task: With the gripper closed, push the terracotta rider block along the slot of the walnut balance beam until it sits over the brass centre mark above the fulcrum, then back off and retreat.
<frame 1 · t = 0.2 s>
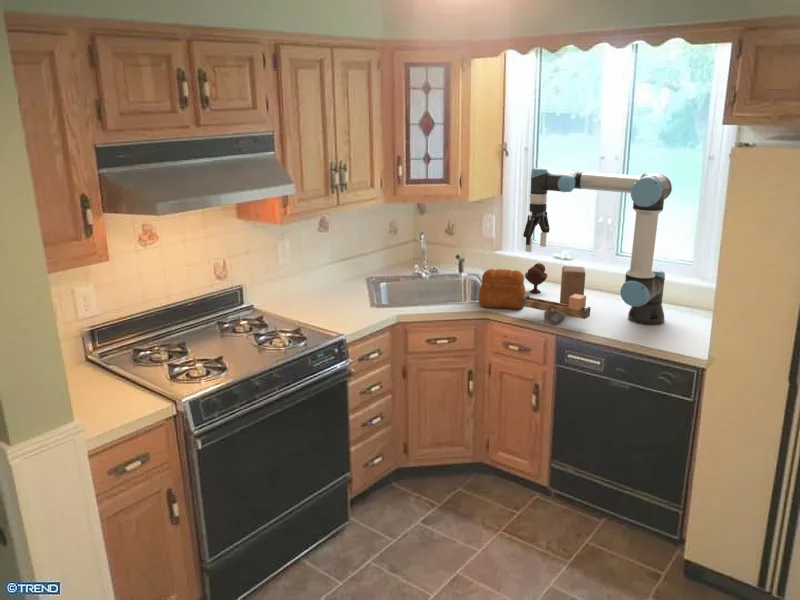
hand: (535, 249, 313), 28 cm above the worktop, fingers open, 13 cm apart
ice cream bowl: (535, 292, 344), on the worktop
rider: (577, 303, 292), point 10 cm above the worktop, slide at -10.0 cm
beam: (554, 321, 301), on the worktop
wooden block: (570, 311, 316), on the worktop
bread: (501, 305, 325), on the worktop
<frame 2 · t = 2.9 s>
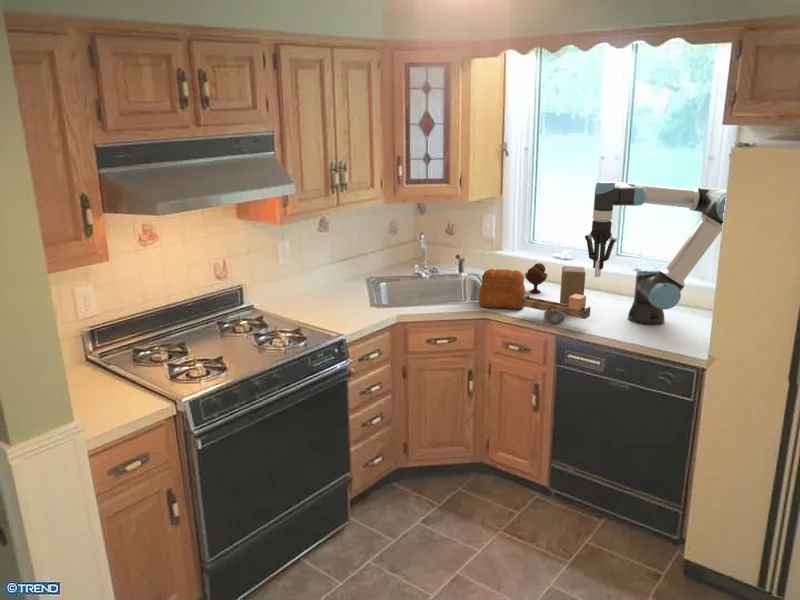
hand: (597, 276, 283), 24 cm above the worktop, fingers closed
nothing on the worktop moved.
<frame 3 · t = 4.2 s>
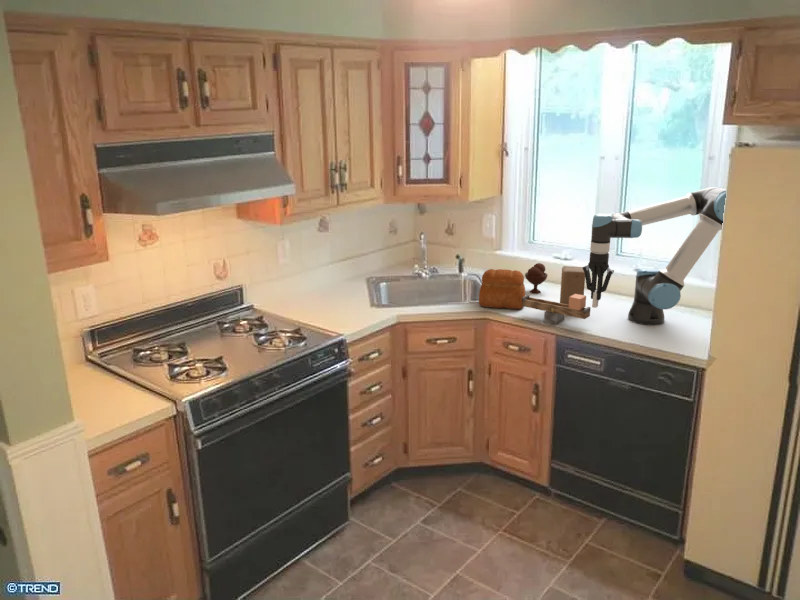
hand: (595, 306, 287), 10 cm above the worktop, fingers closed
nothing on the worktop moved.
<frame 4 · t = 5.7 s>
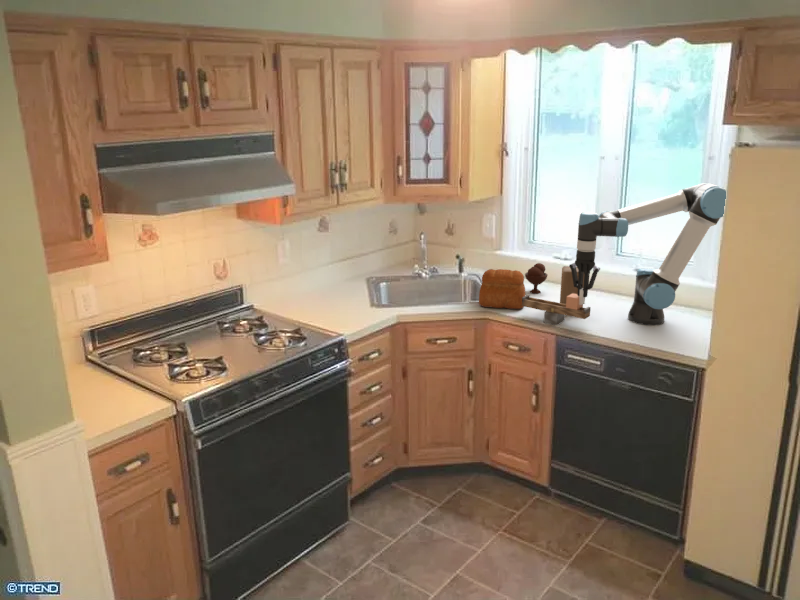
hand: (581, 303, 290), 11 cm above the worktop, fingers closed
rider: (574, 302, 292), point 10 cm above the worktop, slide at -8.8 cm, touching gripper
everything else where it was.
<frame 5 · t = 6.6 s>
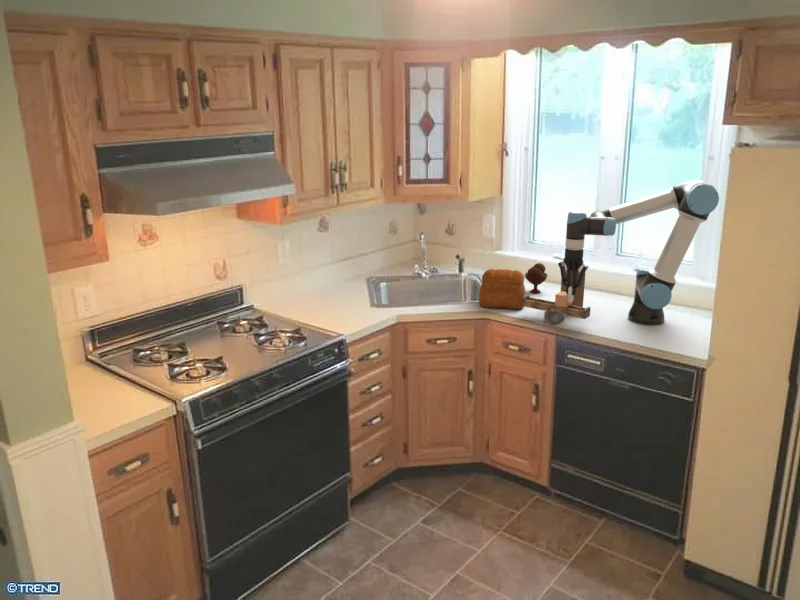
hand: (570, 301, 293), 11 cm above the worktop, fingers closed
rider: (563, 300, 296), point 10 cm above the worktop, slide at -3.6 cm, touching gripper
everything else where it was.
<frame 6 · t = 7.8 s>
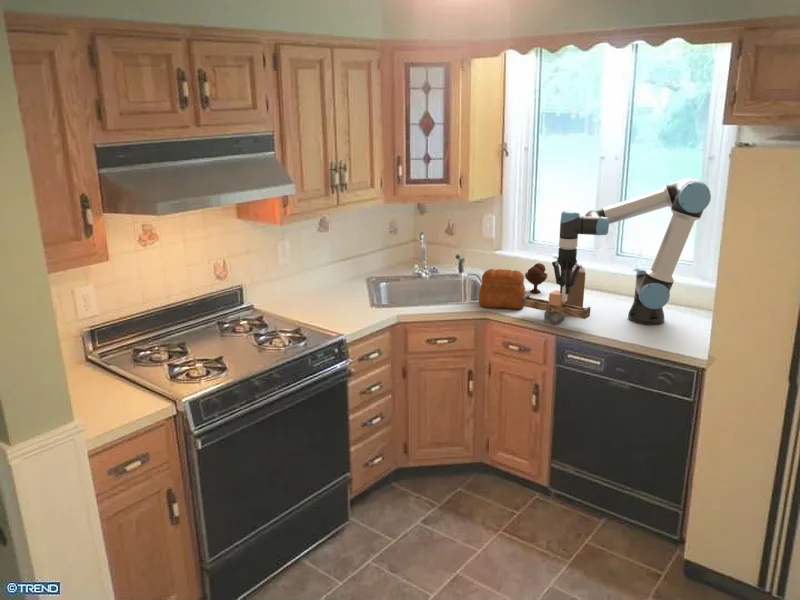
hand: (564, 300, 295), 10 cm above the worktop, fingers closed
rider: (557, 299, 297), point 10 cm above the worktop, slide at -0.8 cm, touching gripper
everything else where it was.
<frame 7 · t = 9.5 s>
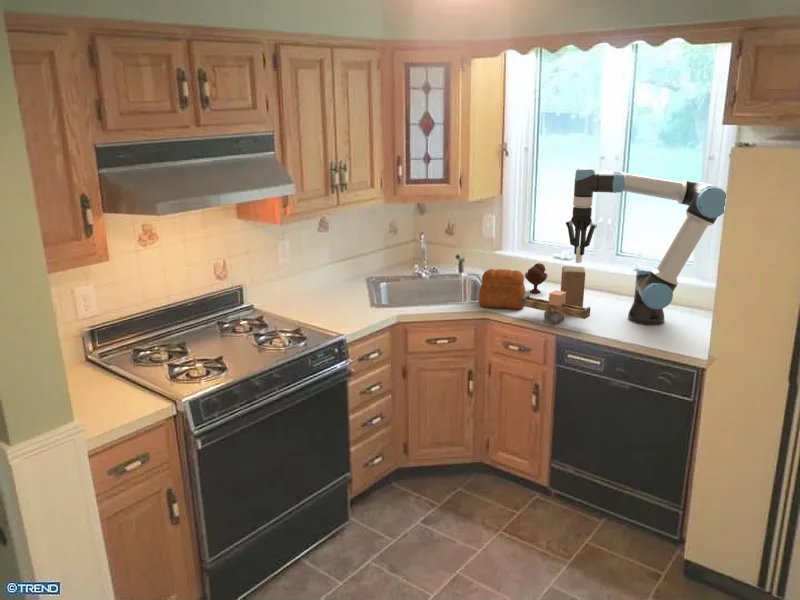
hand: (578, 262, 287), 28 cm above the worktop, fingers closed
rider: (557, 299, 297), point 10 cm above the worktop, slide at -0.8 cm
everything else where it was.
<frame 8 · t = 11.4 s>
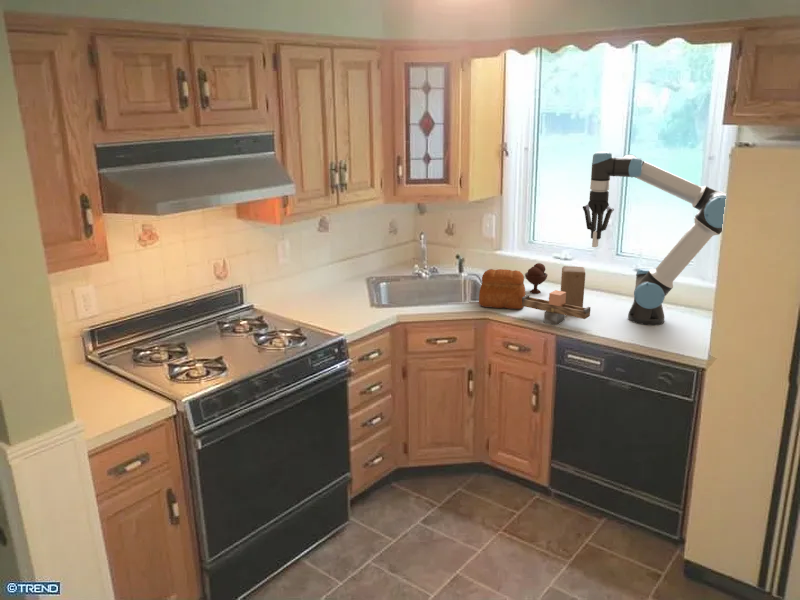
hand: (595, 246, 288), 34 cm above the worktop, fingers closed
nothing on the worktop moved.
at the end: rider slide at -0.8 cm; the gripper is holding nothing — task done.
